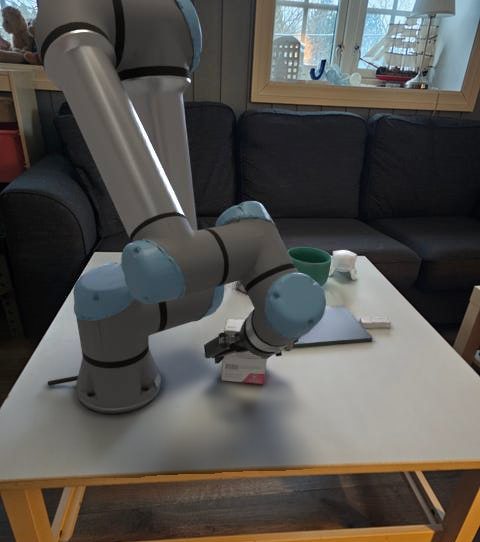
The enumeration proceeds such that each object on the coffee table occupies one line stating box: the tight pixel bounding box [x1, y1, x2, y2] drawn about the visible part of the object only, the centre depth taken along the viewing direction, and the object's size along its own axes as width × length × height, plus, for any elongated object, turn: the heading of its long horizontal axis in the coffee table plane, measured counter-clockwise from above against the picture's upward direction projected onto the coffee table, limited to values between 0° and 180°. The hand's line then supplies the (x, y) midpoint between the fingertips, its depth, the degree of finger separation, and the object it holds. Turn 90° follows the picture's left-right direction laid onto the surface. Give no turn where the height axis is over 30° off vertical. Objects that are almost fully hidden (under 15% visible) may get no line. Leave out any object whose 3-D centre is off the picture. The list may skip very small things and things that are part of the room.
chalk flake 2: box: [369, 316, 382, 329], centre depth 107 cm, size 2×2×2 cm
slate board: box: [292, 305, 374, 349], centre depth 105 cm, size 24×16×1 cm, turn 103°
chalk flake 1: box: [358, 317, 372, 329], centre depth 107 cm, size 2×2×2 cm
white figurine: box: [328, 249, 358, 281], centre depth 132 cm, size 9×8×15 cm
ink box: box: [220, 318, 268, 385], centre depth 84 cm, size 9×5×12 cm, turn 85°
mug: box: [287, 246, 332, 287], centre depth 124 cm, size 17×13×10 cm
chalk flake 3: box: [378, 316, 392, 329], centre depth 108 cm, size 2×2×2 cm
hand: (240, 355), depth 88 cm, fingers closed on ink box, 9 cm apart
